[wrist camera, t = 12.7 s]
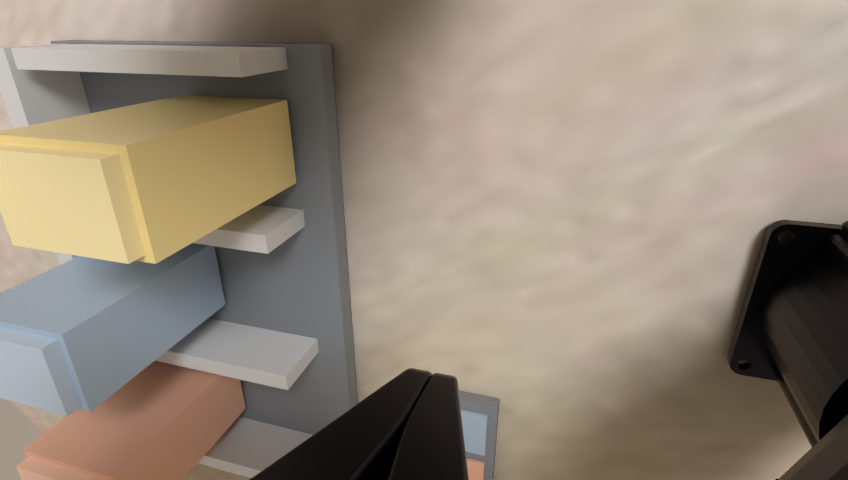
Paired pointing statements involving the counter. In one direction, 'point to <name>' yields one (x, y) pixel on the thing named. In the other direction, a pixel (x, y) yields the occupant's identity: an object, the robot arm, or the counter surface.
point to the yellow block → (143, 175)
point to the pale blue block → (99, 325)
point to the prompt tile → (479, 433)
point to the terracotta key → (140, 429)
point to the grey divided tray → (237, 225)
